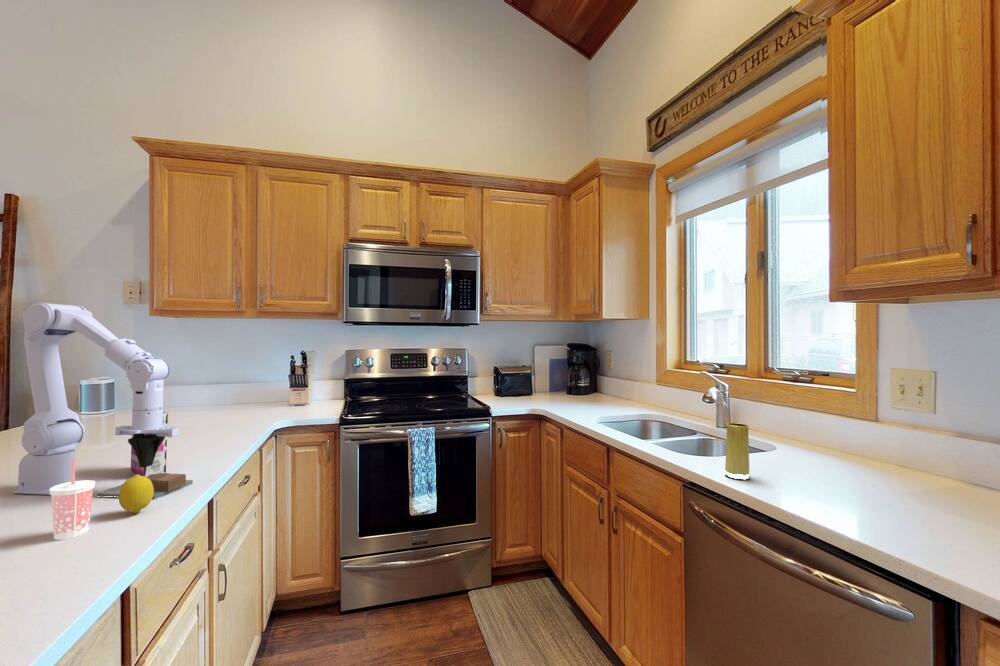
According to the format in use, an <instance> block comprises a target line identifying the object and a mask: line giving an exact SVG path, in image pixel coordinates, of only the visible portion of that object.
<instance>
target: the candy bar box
mask: <svg viewBox="0 0 1000 666" xmlns="http://www.w3.org/2000/svg"><path fill="white" fill-rule="evenodd" d="M168 416H169V413H168V412H166V411H163V424H162V425H163V426H168V421H169V420H168V418H169V417H168ZM133 437H134V435H131V438H133ZM167 442H168V437H166V436H165V439H164V440H163V442H162V443H161V445H160V446H159V448H158V450H157V452H156V455H155V458H154V461H153V464H152V465H151V466H148V467H140V465H139V462H138V459H137V456H136V453H135V451H134V449H133V448H132V446H131V445H130V446H131V448H130V450H131V451H130V472H132V471H133V472H132V473H134V472H135V473H134V474H136V473H137V474H139V475H141V476H145V477H149V476H152V475H155V474H158V473H167V450H168V449H167V447H168V445H167V444H168V443H167ZM137 474H136V475H137Z"/></svg>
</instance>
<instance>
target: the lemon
mask: <svg viewBox="0 0 1000 666" xmlns="http://www.w3.org/2000/svg"><path fill="white" fill-rule="evenodd" d="M122 484H123V485H122ZM122 484H121V485H122V487H121V489H120V493H119V498H118V501H119V505H120V506H121V508H122V509H123V510H124V511H127V512H131V513H133V514H134V513H136V514H138V513H139V512H140V511H142V510H143V509H146V508H147V507H148V506H149V505H150V503H151V501H153V499H152V498H153V494H154V489H153V485H152V482H151V480H150V479H149V478H147V477H145V476H140V475H139V474H135V475H133V476H131V477H130V478H128V479H127V480H126V481H124V482H123V483H122ZM137 512H138V513H137Z"/></svg>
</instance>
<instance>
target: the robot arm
mask: <svg viewBox="0 0 1000 666" xmlns="http://www.w3.org/2000/svg"><path fill="white" fill-rule="evenodd" d="M21 315H22V321H23V322H22V323H23V328H24V329H23V330H24V335H23V345H24V350H25V359H26V363H27V369H28V370H27V371H28V375H29V383H30V389H31V390H30V391H31V395H32V402H33V409H34V414H33V415H31V417H29V418H28V419H27V420H26V421H25V422H24V423H23V424H22V425H23V426H22V427H23V434H22V436H21V446H22V447H23V450H25V451H26V452H27V454H25V455H24V456H23V457H22V458H21V459H20V461H19V463H18V481H17V482H18V484H17V485H18V486H17V488H18V489H16V490H14V491H13V494H26V495H50V492H49V489H50V488H51V487H53V486H56V485H59V484H63V483H67V482H71V472H72V458H75V459H76V449H77V448H78V447H79V444H80V443H81V442H82V441H83V439H84V438H85V436H86V429H85V426H84V424H83V423H82V422H81V420H80V417H79V413H77V412H76V411H73V409H72V410H71V409H70V408H68V401H67V396H66V395H67V393H66V388H65V382H64V375H63V369H62V364H61V358H60V351H59V344H60V343H61V342H62V341H64V340H65V339H67V338H68V337H71V336H72V335H74V334H75V333H79V334H80V335H82V336H83V337H85V338H87V339H89V340H90V341H92V342H93V343H94V344H97V346H100V347H101V348H102V349H104V356H105V357H106V358H107V359H109V360H110V361H112V362H113V363H114V364H115V365H117V366H118V367H120V368H121V369H122V370H124V371H125V374H126V377H127V379H128V381H129V382H130V388H131V390H132V410H131V412H132V415H131V425H119V426H116V427H115V429H114V430H115V433H114V435H115V436H123V435H124V436H132V435H134V437H133V438H132V437H130V438H128V439H127V443H128V444H129V445H130V446H132V448H133V449H134V451H135V453H136V456H137V459H138V462H139V465H140V467H148V466H151V465H152V464H153V461H154V458H155V455H156V452H157V450H158V448H159V446H160V445H161V443H162V442H163V440H164V439H165V436H166V437H167V438H175V437H178V436H180V428H179V427H174V426H168V425H167V426H163V425H162V424H163V412H164V385H165V380H166V379H167V378H168V377H169V375H170V374H171V373H170V372H171V367H170V364H169V363H168V362H167V360H166V359H165V358H163V357H154V356H152V353H150V352H148V351H145V350H144V349H142V348H141V347H140V346H138V345H137V341H135V340H134V339H129V338H125V337H124V338H118V337H117V336H116V335H114V333H113V332H111V331H110V330H109V329H107V327H106V326H104V325H103V324H101V323H100V322H99V320H97V319H96V318H94V317H93V312H92V311H90V310H87V309H86V308H85V307H84V306H82V305H79V304H61V303H48V302H43V301H38V302H34V303H32V304H31V305H29V307H28V308H27V309H25V311H23V313H22V314H21ZM53 422H55V423H53ZM50 496H51V495H50Z"/></svg>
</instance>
